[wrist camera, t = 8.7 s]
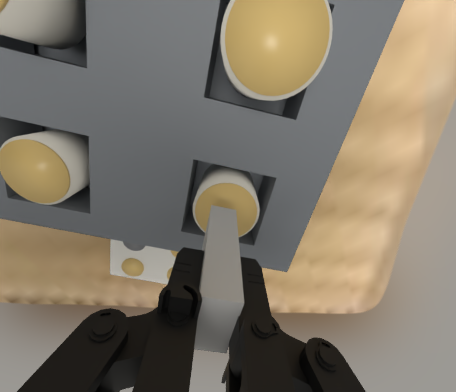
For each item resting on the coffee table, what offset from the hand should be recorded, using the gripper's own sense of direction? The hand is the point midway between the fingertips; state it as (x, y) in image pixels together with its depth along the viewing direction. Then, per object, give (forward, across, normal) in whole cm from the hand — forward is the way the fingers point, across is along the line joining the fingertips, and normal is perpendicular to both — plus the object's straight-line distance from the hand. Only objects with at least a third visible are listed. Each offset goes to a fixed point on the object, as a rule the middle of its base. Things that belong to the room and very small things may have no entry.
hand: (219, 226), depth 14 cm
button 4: (+5, +1, +10) cm, 11 cm away
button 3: (+8, +1, 0) cm, 8 cm away
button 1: (+8, -12, 0) cm, 15 cm away
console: (+8, -6, +5) cm, 11 cm away
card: (+8, -5, -10) cm, 14 cm away
